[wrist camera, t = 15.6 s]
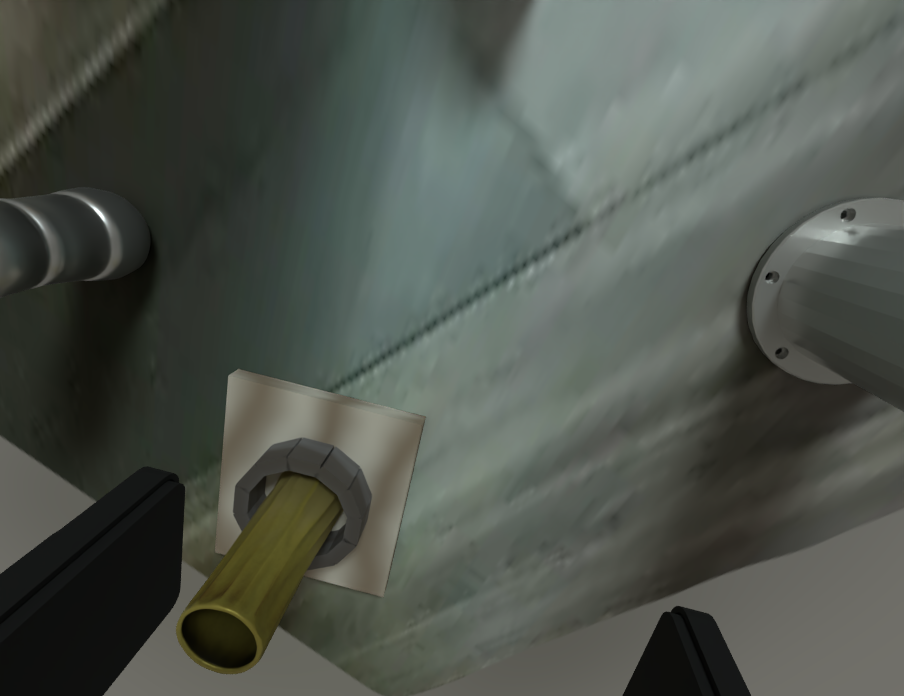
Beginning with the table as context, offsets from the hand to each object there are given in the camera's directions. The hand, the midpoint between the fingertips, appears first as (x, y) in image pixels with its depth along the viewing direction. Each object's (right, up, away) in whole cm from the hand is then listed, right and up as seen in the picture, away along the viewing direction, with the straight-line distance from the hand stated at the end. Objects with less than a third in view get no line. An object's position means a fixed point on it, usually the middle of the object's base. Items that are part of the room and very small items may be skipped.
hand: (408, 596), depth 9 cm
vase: (-11, -8, +32) cm, 35 cm away
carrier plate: (-11, -7, +34) cm, 36 cm away
